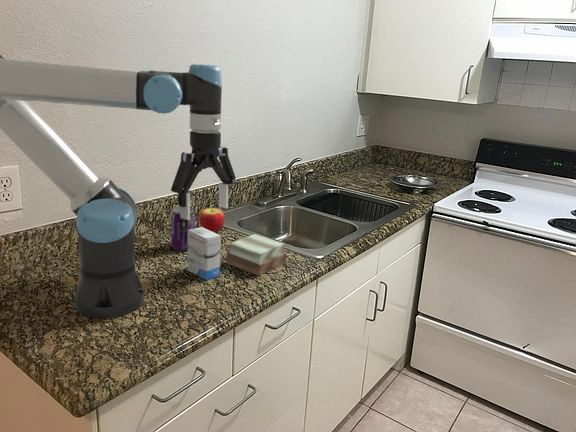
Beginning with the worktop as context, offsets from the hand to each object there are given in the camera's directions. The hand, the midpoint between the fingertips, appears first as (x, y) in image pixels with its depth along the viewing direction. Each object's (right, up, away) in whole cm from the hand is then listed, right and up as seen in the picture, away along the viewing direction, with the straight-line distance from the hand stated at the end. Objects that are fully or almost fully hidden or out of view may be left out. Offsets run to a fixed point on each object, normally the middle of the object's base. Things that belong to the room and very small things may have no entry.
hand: (205, 212), depth 125 cm
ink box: (-1, -16, +5) cm, 17 cm away
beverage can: (-10, -11, +21) cm, 26 cm away
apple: (-4, -6, +36) cm, 36 cm away
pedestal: (+12, -14, +14) cm, 23 cm away
